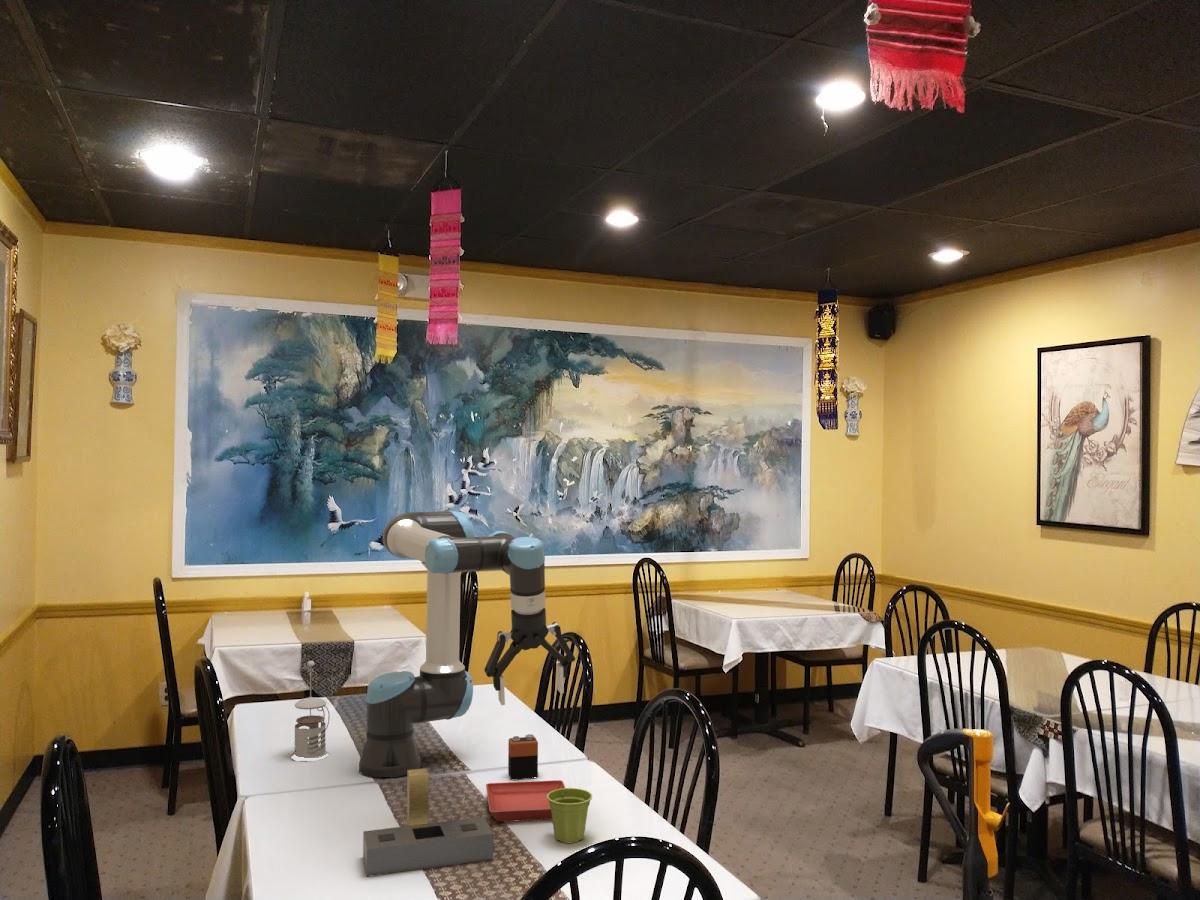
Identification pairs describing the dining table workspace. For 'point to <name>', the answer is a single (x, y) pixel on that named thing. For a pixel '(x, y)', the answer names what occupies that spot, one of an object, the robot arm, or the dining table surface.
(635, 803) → the dining table surface
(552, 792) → the plant pot
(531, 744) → the battery
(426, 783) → the brass post
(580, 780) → the dining table surface
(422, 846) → the gray socket block
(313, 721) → the french press
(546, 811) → the plant saucer
